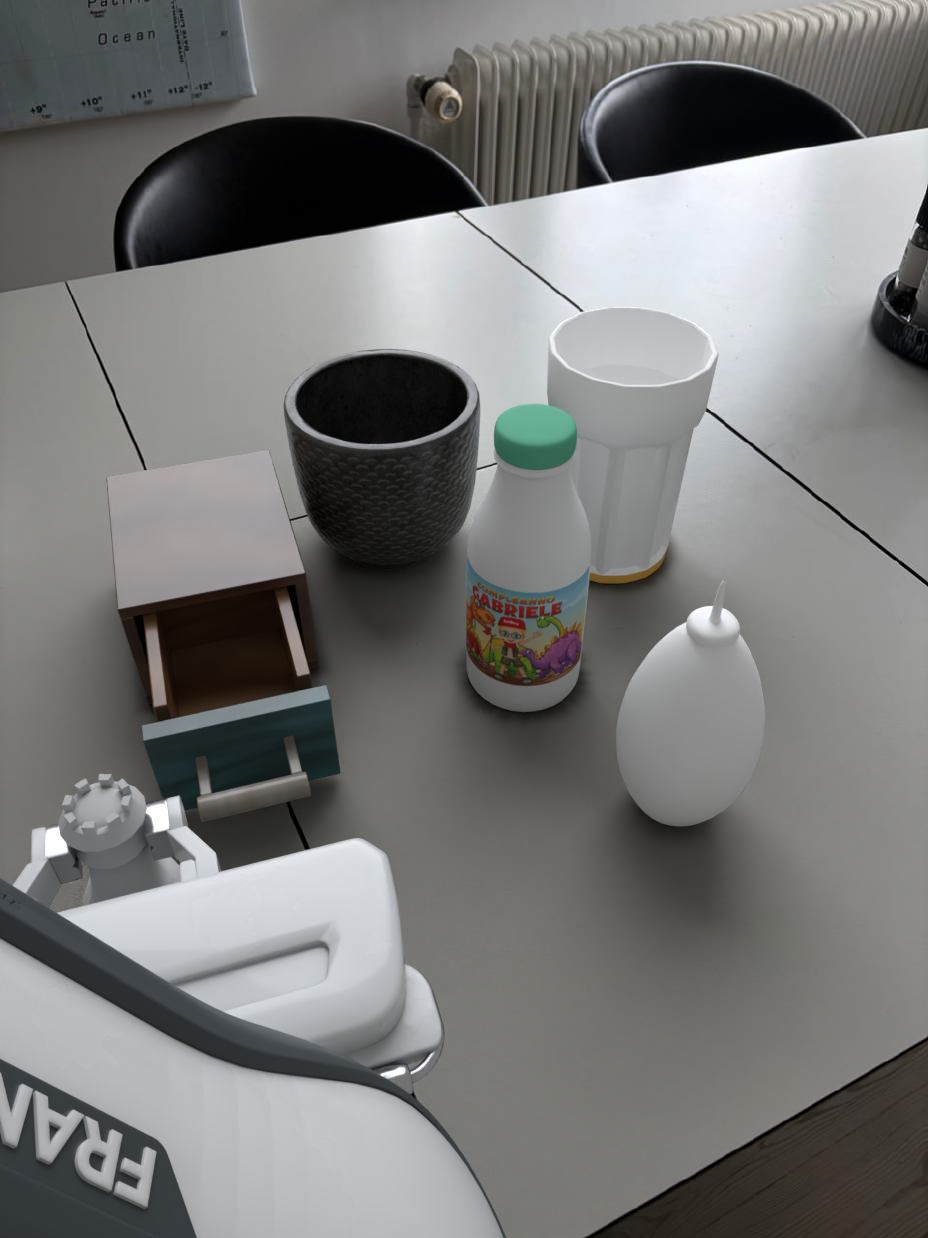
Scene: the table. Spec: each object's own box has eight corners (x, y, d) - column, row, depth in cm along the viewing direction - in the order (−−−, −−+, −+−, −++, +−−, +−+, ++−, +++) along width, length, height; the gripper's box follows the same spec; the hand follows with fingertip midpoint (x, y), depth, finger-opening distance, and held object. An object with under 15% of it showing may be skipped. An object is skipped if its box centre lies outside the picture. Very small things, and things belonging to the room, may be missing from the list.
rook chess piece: (109, 981, 41) (55, 871, 36) (74, 900, 44) (19, 786, 38) (211, 926, 43) (175, 814, 37) (172, 851, 45) (133, 737, 40)
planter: (378, 624, 73) (365, 476, 64) (267, 535, 80) (243, 392, 71) (515, 541, 79) (521, 398, 71) (402, 467, 87) (394, 328, 78)
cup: (521, 511, 82) (530, 312, 70) (653, 496, 84) (684, 299, 72) (555, 603, 74) (572, 395, 62) (701, 584, 76) (745, 378, 64)
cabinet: (319, 667, 69) (305, 572, 64) (147, 704, 67) (117, 609, 61) (283, 540, 80) (269, 449, 74) (133, 568, 77) (105, 476, 71)
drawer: (355, 828, 59) (346, 754, 54) (174, 874, 56) (148, 801, 52) (300, 628, 71) (289, 553, 66) (150, 659, 69) (127, 584, 64)
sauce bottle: (586, 772, 63) (615, 549, 50) (697, 740, 65) (752, 517, 52) (642, 875, 57) (691, 653, 45) (762, 837, 59) (840, 614, 47)
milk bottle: (468, 633, 72) (468, 384, 58) (576, 635, 72) (602, 387, 58) (464, 714, 66) (463, 460, 53) (581, 717, 66) (611, 463, 52)
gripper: (460, 1038, 31) (359, 711, 40) (-293, 1265, 26) (-202, 836, 36) (460, 1119, 35) (369, 806, 44) (-186, 1325, 30) (-131, 928, 40)
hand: (110, 820), depth 40 cm, fingers closed on rook chess piece, 3 cm apart
